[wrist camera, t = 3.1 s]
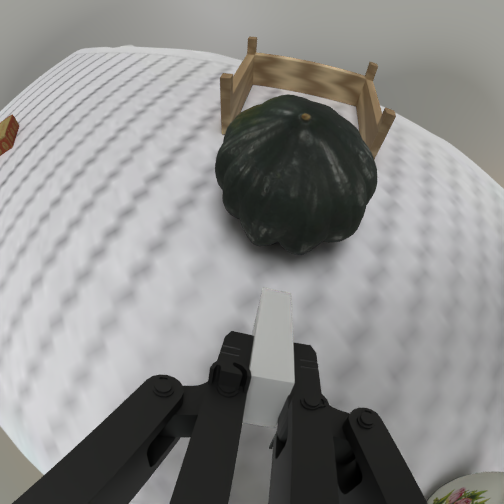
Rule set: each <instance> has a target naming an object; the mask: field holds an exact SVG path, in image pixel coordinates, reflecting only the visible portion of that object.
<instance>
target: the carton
mask: <svg viewBox="0 0 504 504" xmlns="http://www.w3.org/2000/svg"><path fill="white" fill-rule="evenodd" d="M18 129H19V124H18V122H17V121H16V119H15V117H14V116H13V115H10V116H9V117H7V118H6V119H5V120H3V121H2V122H1V123H0V156H1V155H2V154H4V153H5V152H6V151H8V150H9V149H11V148H12V147H13V145H14V141H15V138H16V135H17V132H18Z"/></svg>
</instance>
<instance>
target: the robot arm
mask: <svg viewBox="0 0 504 504" xmlns="http://www.w3.org/2000/svg"><path fill="white" fill-rule="evenodd" d="M277 422H278V426H277V432H276V434H275V436H274V438H273V440H272V442H271V444H270V447H269V449H272V447H273V455H272V468H271V480H270V491H269V502H268V504H427V502H426V500H425V498H424V496H423V494H422V492H421V490H420V488H419V486H418V485H417V483H416V481H415V479H414V477H413V475H412V473H411V471H410V470H409V468H408V466H407V464H406V462H405V460H404V459H403V457H402V455H401V453H400V451H399V449H398V448H397V446H396V444H395V442H394V440H393V439H392V437H391V435H390V433H389V432H388V430H387V428H386V426H385V424H384V423H383V421H382V419H381V418H380V416H379V415H378V414H377V413H376V412H374V411H373V410H371V409H368V408H357V409H354V410H353V411H352V412H351V413H350V414H349V413H346V412H343V411H340V410H337V409H335V408H333V407H331V406H330V405H329V403H328V401H327V399H326V398H325V397H324V396H323V395H322V394H321V386H320V379H319V371H318V364H317V356H316V352H315V351H314V350H313V348H312V347H311V345H305V344H299V343H293V323H292V304H291V293H287V292H282V291H277V290H272V289H267V288H263V289H262V293H261V298H260V302H259V306H258V311H257V315H256V319H255V323H254V328H253V333H252V335H248V334H243V333H238V332H234V331H231V332H230V333H229V334H228V335H226V336H225V338H224V341H223V345H222V348H221V351H220V354H219V357H218V360H217V361H216V362H215V363H213V364H212V366H211V367H210V372H209V379H208V382H206V383H204V384H202V385H198V386H182V384H181V383H180V381H178V380H177V379H175V378H174V377H171V376H168V375H155V376H152V377H150V378H149V379H147V380H146V381H145V382H144V383H143V384H142V385H141V386H140V387H139V388H138V389H137V390H136V391H135V392H133V393H132V394H131V395H130V396H129V397H128V398H127V399H126V400H125V401H124V402H123V403H122V404H121V405H120V406H119V407H118V408H117V409H116V410H115V411H113V412H112V413H111V414H110V415H109V416H108V417H107V418H106V419H105V420H104V421H103V422H102V423H101V424H100V425H99V426H98V427H96V428H95V429H94V430H93V431H92V432H91V433H90V434H89V435H88V436H87V437H86V438H85V439H84V440H82V441H81V442H80V443H79V444H78V445H77V446H76V447H75V448H74V449H73V450H72V451H70V452H69V453H68V454H67V455H66V456H65V457H64V458H63V459H62V460H61V461H60V462H58V463H57V464H56V465H55V466H54V467H53V468H52V469H51V470H50V471H48V472H47V473H46V474H45V475H44V476H43V477H42V478H41V479H40V480H38V481H37V482H36V483H35V484H34V485H33V486H32V487H30V488H29V489H28V490H27V491H26V492H25V493H24V494H23V495H21V496H20V497H19V498H18V499H17V500H16V501H14V502H13V503H12V504H129V502H130V501H131V500H132V499H133V498H134V496H135V495H136V494H137V493H138V492H139V490H140V489H141V488H142V487H143V485H144V484H145V483H146V482H147V480H148V479H149V478H150V477H151V475H152V474H153V473H154V472H155V470H156V469H157V468H158V467H159V465H160V464H161V463H162V461H163V460H164V459H165V458H166V456H167V455H168V454H169V452H170V451H171V450H172V448H173V447H174V446H175V444H176V443H177V442H178V440H179V439H180V438H181V437H191V439H190V442H189V445H188V448H187V451H186V454H185V457H184V460H183V463H182V467H181V470H180V473H179V476H178V479H177V482H176V485H175V488H174V492H173V495H172V498H171V501H170V504H228V501H229V496H230V491H231V485H232V479H233V474H234V468H235V462H236V457H237V451H238V445H239V439H240V433H241V427H242V423H247V424H252V425H258V426H265V427H271V428H275V426H276V424H277Z"/></svg>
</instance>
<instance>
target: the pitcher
mask: <svg viewBox="0 0 504 504" xmlns="http://www.w3.org/2000/svg"><path fill="white" fill-rule="evenodd" d="M427 504H504V472H482V473H475V474H470V475H466V476H463V477H460V478H457V479H455V480H453V481H451V482H449V483H447V484H445V485H443V486H442V487H440V488H439V489H438V490H437V491H436V492H435V493H434V494H433V495H432V496H431V497H430V498H429V499H428V501H427Z"/></svg>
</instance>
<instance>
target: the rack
mask: <svg viewBox="0 0 504 504" xmlns="http://www.w3.org/2000/svg"><path fill="white" fill-rule="evenodd" d="M256 47H257V37H249V38H248V51H247V55H246V57H245V59H244V60H243V62H242V63H241V65H240V66H239V68H238V70H237V71H236V73H235V75H234V76H233V74H226V73H223V74H222V76H221V77H220V94H221V126H222V134H224V135H225V133H226V130H227V127H228V126H229V124H230V123H231V122H232V121H233V120H234V119H235V117H236V116H237V115H238V114H239V113H240V112H241V110H242V107H243V105H244V103H245V101H246V98H247V96H248V94H249V92H250V89H251V87H252V85H253V84H254V85H261V86H267V87H274V88H280V89H285V90H291V91H296V92H301V93H305V94H310V95H315V96H319V97H323V98H327V99H331V100H335V101H339V102H342V103H346V104H350V105H353V106H356V109H357V116H358V124H359V132H360V135H361V137H362V140H363V141H364V142H365V143H366V145H367V146H368V147H369V149H370V151H371V153H372V155H373V158H374V159H375V157H376V155H377V153H378V151H379V149H380V147H381V145H382V143H383V141H384V139H385V137H386V135H387V133H388V131H389V129H390V127H391V125H392V123H393V121H394V119H395V117H396V115H395V112H394V111H393V110H391V109H388V108H385V109H384V111H383V114H382V112H381V108H380V104H379V101H378V97H377V94H376V90H375V87H374V84H373V79H374V76H375V74H376V71H377V68H378V66H377V64H375V63H373V62H370V63H369V66H368V69H367V72H366V75H365V76H363V75H360V74H357V73H354V72H350V71H347V70H343V69H340V68H336V67H332V66H328V65H324V64H319V63H315V62H310V61H306V60H300V59H295V58H290V57H284V56H278V55H271V54H263V53H256Z"/></svg>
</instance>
